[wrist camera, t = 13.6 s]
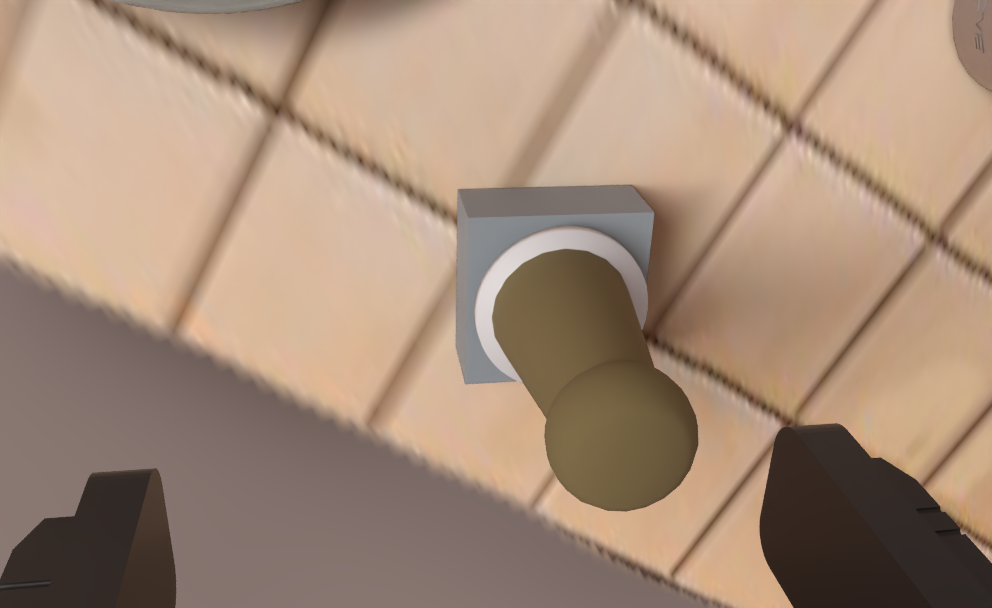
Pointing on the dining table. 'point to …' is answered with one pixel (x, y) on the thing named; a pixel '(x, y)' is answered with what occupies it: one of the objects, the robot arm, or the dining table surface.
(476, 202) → the scale
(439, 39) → the dining table surface
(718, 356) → the dining table surface
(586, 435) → the olive pepper mill
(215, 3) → the cake pan
